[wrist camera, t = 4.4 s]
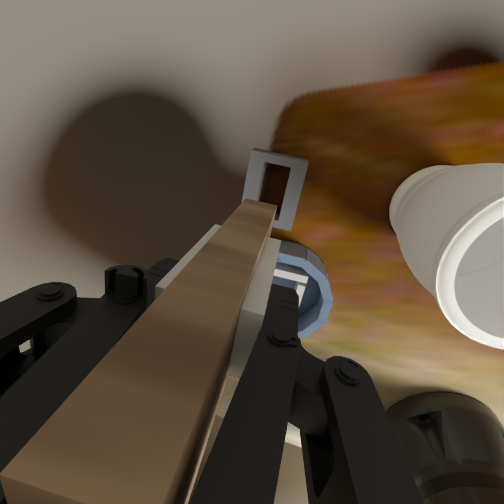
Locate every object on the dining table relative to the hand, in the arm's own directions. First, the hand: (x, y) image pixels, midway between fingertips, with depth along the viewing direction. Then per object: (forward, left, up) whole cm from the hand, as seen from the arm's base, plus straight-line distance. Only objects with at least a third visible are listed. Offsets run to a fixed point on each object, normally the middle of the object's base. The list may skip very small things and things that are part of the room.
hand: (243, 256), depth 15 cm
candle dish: (-11, -3, -18) cm, 21 cm away
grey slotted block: (0, 0, -18) cm, 18 cm away
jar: (+2, -16, -18) cm, 24 cm away
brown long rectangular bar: (0, 0, -4) cm, 4 cm away
